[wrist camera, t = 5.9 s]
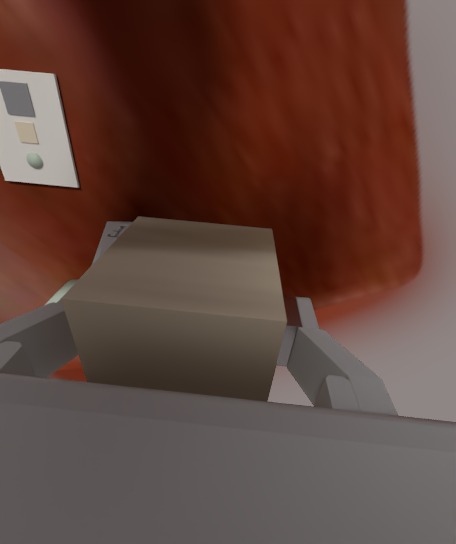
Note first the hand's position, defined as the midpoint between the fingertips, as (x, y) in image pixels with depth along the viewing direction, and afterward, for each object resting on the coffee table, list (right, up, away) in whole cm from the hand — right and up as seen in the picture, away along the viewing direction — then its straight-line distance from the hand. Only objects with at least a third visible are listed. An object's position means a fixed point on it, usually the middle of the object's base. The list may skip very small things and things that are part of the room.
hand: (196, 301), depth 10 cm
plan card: (-19, +15, +17) cm, 29 cm away
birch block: (0, +1, +1) cm, 2 cm away
